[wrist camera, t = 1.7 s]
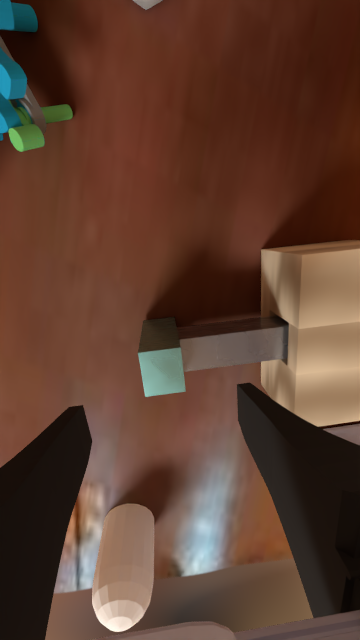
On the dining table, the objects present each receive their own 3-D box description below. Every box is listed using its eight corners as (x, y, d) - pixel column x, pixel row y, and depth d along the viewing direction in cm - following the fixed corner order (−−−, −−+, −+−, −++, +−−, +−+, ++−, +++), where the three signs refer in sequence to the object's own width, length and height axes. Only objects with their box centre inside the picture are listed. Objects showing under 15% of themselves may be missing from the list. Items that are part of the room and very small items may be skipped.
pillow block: (334, 373, 24) (388, 416, 18) (261, 383, 24) (293, 430, 18) (348, 239, 20) (422, 241, 15) (261, 249, 20) (302, 255, 14)
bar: (417, 320, 23) (504, 348, 17) (148, 354, 22) (145, 396, 16) (424, 286, 22) (518, 305, 16) (143, 320, 21) (138, 352, 15)
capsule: (145, 541, 29) (141, 649, 22) (98, 534, 28) (76, 644, 21) (161, 508, 28) (162, 610, 20) (112, 499, 27) (94, 603, 19)
